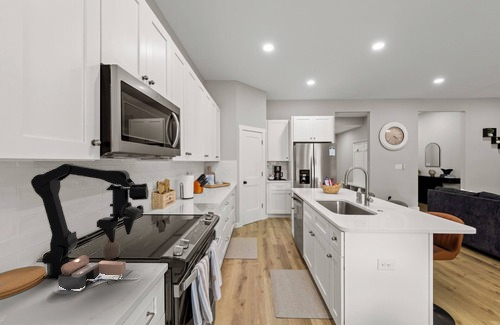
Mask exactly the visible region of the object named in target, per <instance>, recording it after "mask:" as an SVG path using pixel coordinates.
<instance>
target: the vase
mask: <svg viewBox="0 0 500 325" xmlns="http://www.w3.org/2000/svg"><path fill="white" fill-rule="evenodd" d="M120 252H121V245H120V244H119V242H118V241H116V239H115V240H114V242H113V243H111V242H110V240H109V238H107V241H106V242H105V243H104V245H103V246H102V249H101V256H102V258H103V259H104V260H105V261H112V260H111V259H113V260H115V259H117V258H118V257H119V255H120V254H121V253H120ZM116 257H117V258H116ZM114 258H115V259H114Z"/></svg>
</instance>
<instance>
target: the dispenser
mask: <svg viewBox="0 0 500 325" xmlns="http://www.w3.org/2000/svg"><path fill="white" fill-rule="evenodd" d="M69 261H70V260H69ZM61 272H62V274H61V275H60V276H58V279H57V280H58V283H57V284H58V287H59V286H60V287H62V288H64V289H66V290H71V289H80V288H83V287H84V286H86V287H87V282H86V280H87V279H95V278H96V277H97V276H98V275H99V262H90V258H89V256H88V255H85V254H84V255H83V254H82V255H81V256H80V255H79V257H76V258H75V259H72V260H71V261H70V262H68V263H66V264H64V265H63V266H62V267H61Z"/></svg>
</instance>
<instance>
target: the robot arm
mask: <svg viewBox="0 0 500 325" xmlns="http://www.w3.org/2000/svg"><path fill="white" fill-rule="evenodd" d="M71 175H72V176H78V177H85V178H91V179H92V178H93V179H98V180H101V181H102V180H103V181H104V182H107V183H110V185H109V186H108V187H106V189H105V190H106V191H112V193H111V194H112V199H111V200H112V201H111V202H112V203H109V207H111V208H112V213H110V214H109V216H107V217H106V216H105V217H102V218H100V219H98V220H96V228H99V229H100V230H102V231H103V232H104V234H105V235H106V237H107V239H109V240H110V242H111V243H113V242H114V240H115V241H116V230H117V228H118V227H119V225H118V223H119V221H122V222H123V225H124V229H125V233H126V235H127V236H128V235H130V234H131V231H132V229H133V226H134V223H135V221H136V220H138V219H141V217H142V214H144V212H145V211H144V210H145V209H144V205H141V204H138V205H137V206H132V202H131V201H130V200H129V198H130V199H131V200H132V201H141V200H148V199H149V188H148V183H146V182H145V183H135V182H134V181H133V180H132V178H131V177H130V176H131V175H130V173H129V172H128V171H127V170H124V169H101V168H96V167H90V166H84V165H79V164H73V163H64V164H61V165H59V166H58V167H56V168H53V169H50V170H48V171H47V172H44V173H42V174H41V173H40V174H36V175H35V176H33V178H31V180H30V184H31V186H32V189H33V190H34V192H35V193H36V195H38V196H39V197H40V199H41V200H42V202H43V206H44V210H45V214H46V217H47V222H48V224H49V225H48V226H49V228H50V232H51V238H50V243H49V249H50V251H49V253H47V254H46V255H45V256H44V257H42V259H41V261H42V263H43V264H44V265H46V274H45V275H43V276H42V279H48V280H49V279H51V280H53V279H54V280H58V276H60V275H61V274H62V272H61V267H62V266H63V265H64V264H66V263H68V262H70V256H69V255H70V254H72V252H73V250H74V249H75V248H76V247H77V246H78V242H79V239H78V237H77V231H72V232H71V231H70V230H69V228H68V225H67V224H68V223H67V221H66V217H65V213H64V210H63V209H64V208H63V206H62V203H61V198H60V195H59V194H60V191H61V187H62V186H61V181H63V180H65V179H66V178H68V177H69V176H71Z"/></svg>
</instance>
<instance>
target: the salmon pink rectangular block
mask: <svg viewBox="0 0 500 325" xmlns="http://www.w3.org/2000/svg"><path fill="white" fill-rule="evenodd" d="M98 263H99V273H101V274H105V275H120V274H122V275H124V274H125V273H126V270H127V267H126V266H127V262H126V261H115V260H101V261H99V262H98Z"/></svg>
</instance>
